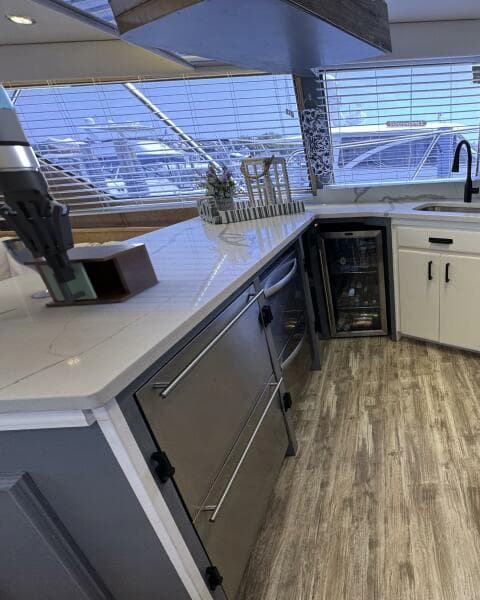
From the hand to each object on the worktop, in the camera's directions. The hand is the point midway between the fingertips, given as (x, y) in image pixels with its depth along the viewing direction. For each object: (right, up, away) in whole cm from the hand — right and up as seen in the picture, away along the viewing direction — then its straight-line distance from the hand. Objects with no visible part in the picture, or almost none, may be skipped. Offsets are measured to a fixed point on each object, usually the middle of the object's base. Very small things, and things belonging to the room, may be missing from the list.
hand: (67, 280), depth 74 cm
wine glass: (-19, -3, +15) cm, 24 cm away
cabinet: (-2, -3, +12) cm, 13 cm away
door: (-4, -5, +4) cm, 7 cm away
